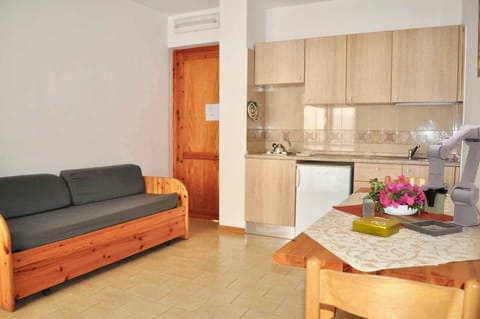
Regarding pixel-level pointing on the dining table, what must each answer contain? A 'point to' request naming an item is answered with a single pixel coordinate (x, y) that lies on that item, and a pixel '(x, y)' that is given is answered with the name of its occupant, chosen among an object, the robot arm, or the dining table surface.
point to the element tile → (376, 226)
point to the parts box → (436, 204)
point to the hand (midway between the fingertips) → (434, 206)
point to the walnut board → (404, 219)
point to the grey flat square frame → (449, 229)
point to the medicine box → (368, 207)
